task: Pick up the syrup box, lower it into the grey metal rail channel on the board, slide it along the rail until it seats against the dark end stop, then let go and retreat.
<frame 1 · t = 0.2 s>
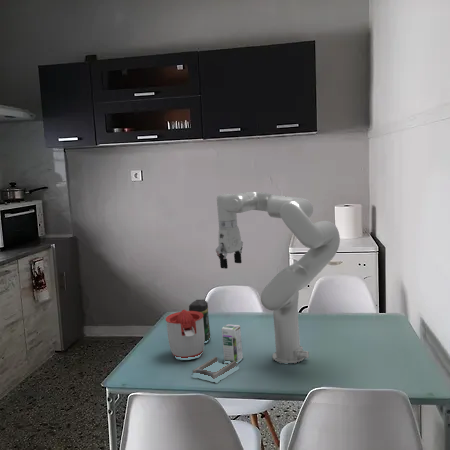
hand: (231, 265, 210), 36 cm above the table, tool pointing down, fingers open, 9 cm apart
citrus juicer: (188, 357, 211), on the table
coffee jar: (201, 341, 228), on the table
syrup box: (233, 362, 203), on the table
rail board: (215, 373, 193), on the table
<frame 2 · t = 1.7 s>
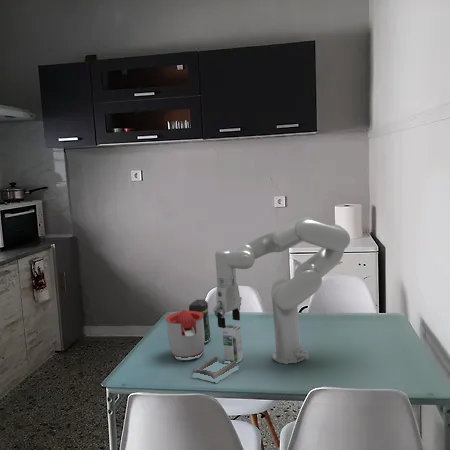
hand: (229, 323, 201), 16 cm above the table, tool pointing down, fingers open, 9 cm apart
nothing on the table moved.
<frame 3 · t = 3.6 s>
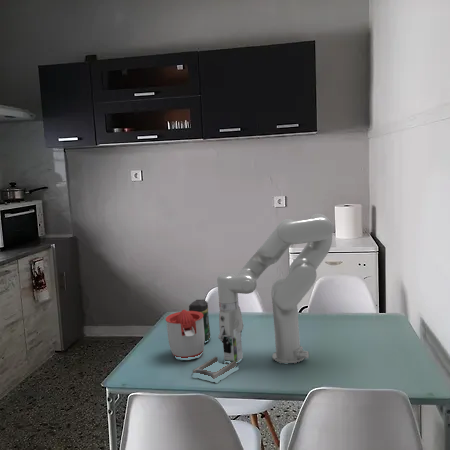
hand: (232, 349, 202), 5 cm above the table, tool pointing down, fingers closed on syrup box, 6 cm apart
syrup box: (233, 361, 203), on the table, touching gripper
everything else where it was.
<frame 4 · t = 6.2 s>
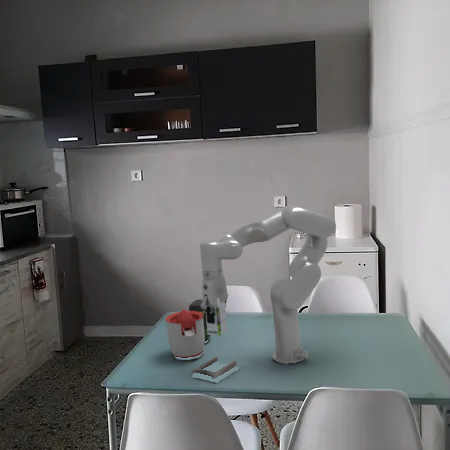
hand: (216, 319, 193), 20 cm above the table, tool pointing down, fingers closed on syrup box, 6 cm apart
syrup box: (217, 333, 194), point 14 cm above the table, touching gripper
everything else where it was.
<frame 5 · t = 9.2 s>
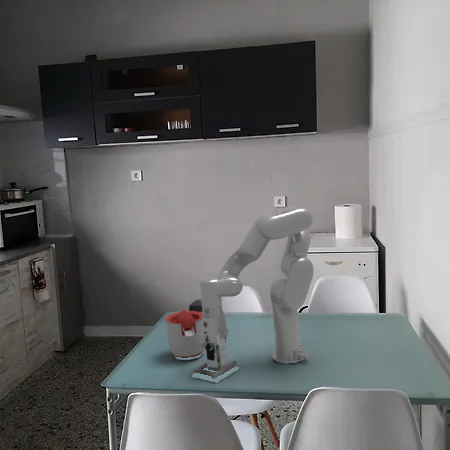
hand: (216, 356, 193), 6 cm above the table, tool pointing down, fingers closed on syrup box, 6 cm apart
syrup box: (217, 369, 194), point 1 cm above the table, touching gripper
everything else where it was.
when the fingers open (6 cm above the table, at t = 11.0 s): syrup box stays where it is, resting on rail board.
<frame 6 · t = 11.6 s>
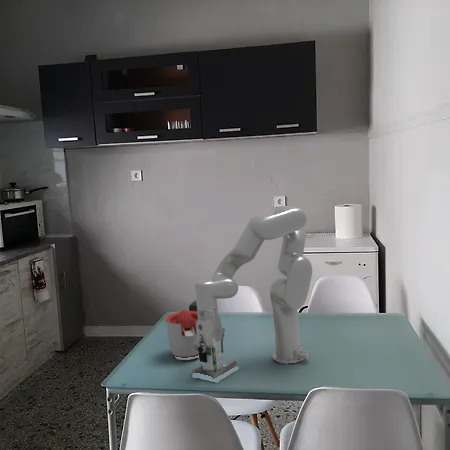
hand: (211, 357, 191), 7 cm above the table, tool pointing down, fingers open, 9 cm apart
syrup box: (213, 372, 192), point 1 cm above the table, touching rail board
everything else where it was.
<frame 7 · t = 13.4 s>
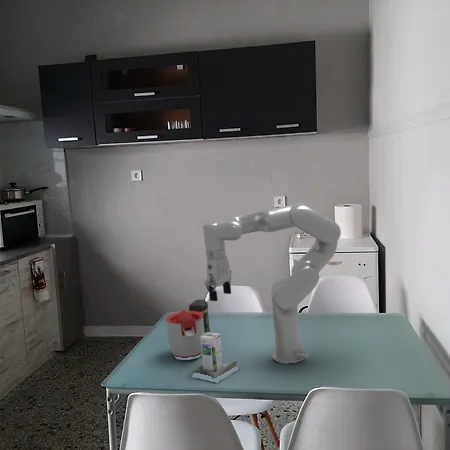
hand: (220, 297, 199), 27 cm above the table, tool pointing down, fingers open, 9 cm apart
nothing on the table moved.
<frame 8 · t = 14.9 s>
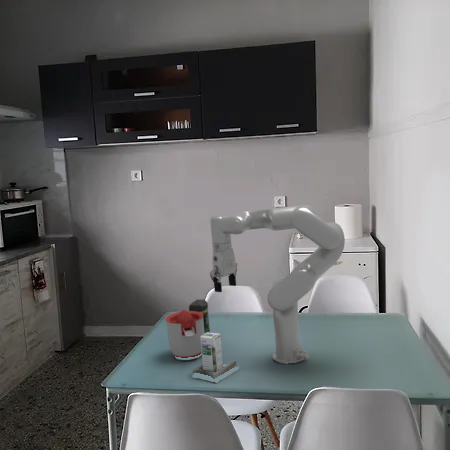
hand: (225, 288, 204), 28 cm above the table, tool pointing down, fingers open, 9 cm apart
nothing on the table moved.
at the end: syrup box 0.5 cm from the target spot, point 0.8 cm above the table; syrup box tilted 0°; the gripper is holding nothing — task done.
